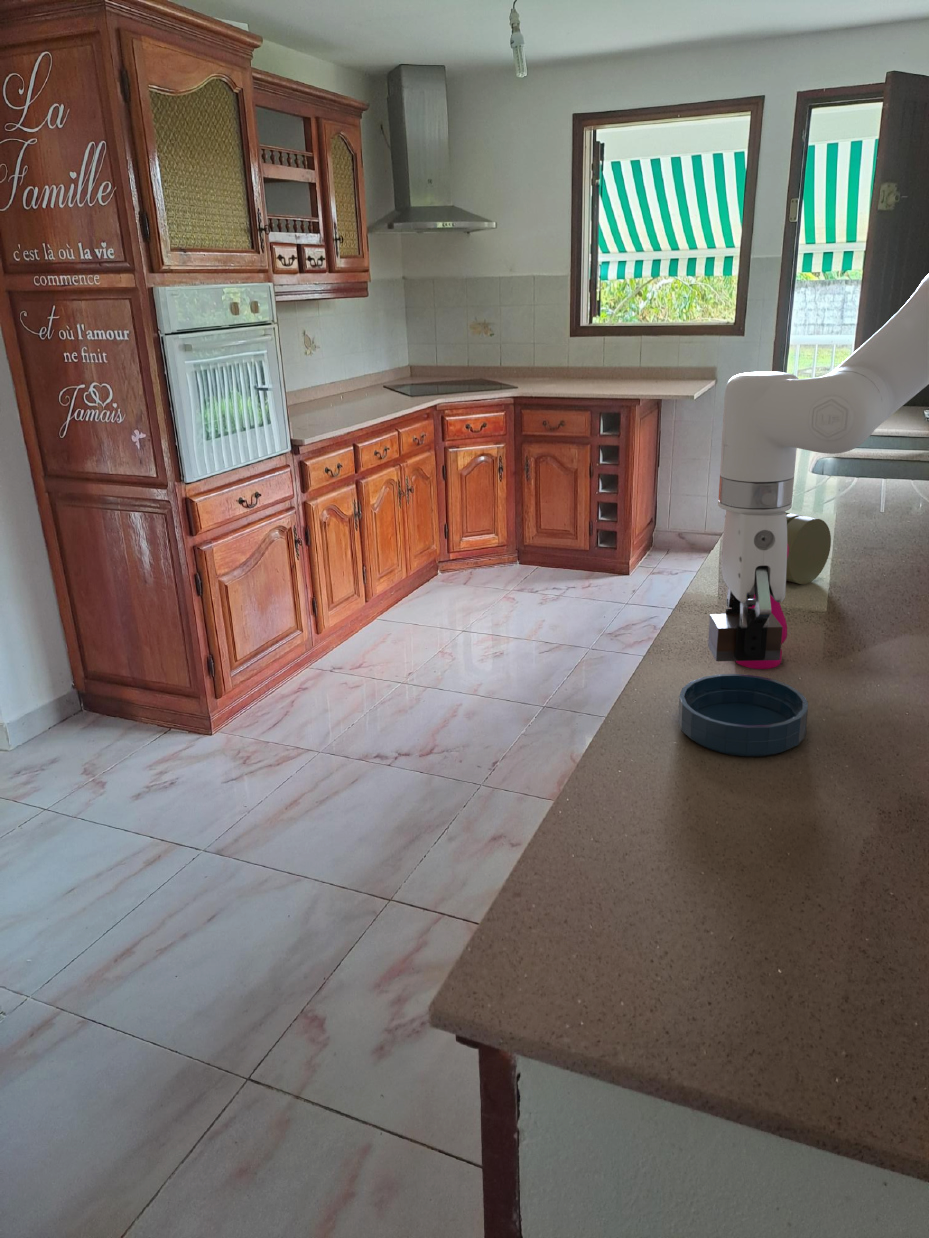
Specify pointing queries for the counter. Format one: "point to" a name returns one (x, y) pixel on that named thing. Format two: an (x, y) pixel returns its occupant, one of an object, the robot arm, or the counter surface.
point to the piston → (806, 547)
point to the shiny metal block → (725, 637)
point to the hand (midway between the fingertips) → (743, 648)
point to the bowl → (743, 714)
